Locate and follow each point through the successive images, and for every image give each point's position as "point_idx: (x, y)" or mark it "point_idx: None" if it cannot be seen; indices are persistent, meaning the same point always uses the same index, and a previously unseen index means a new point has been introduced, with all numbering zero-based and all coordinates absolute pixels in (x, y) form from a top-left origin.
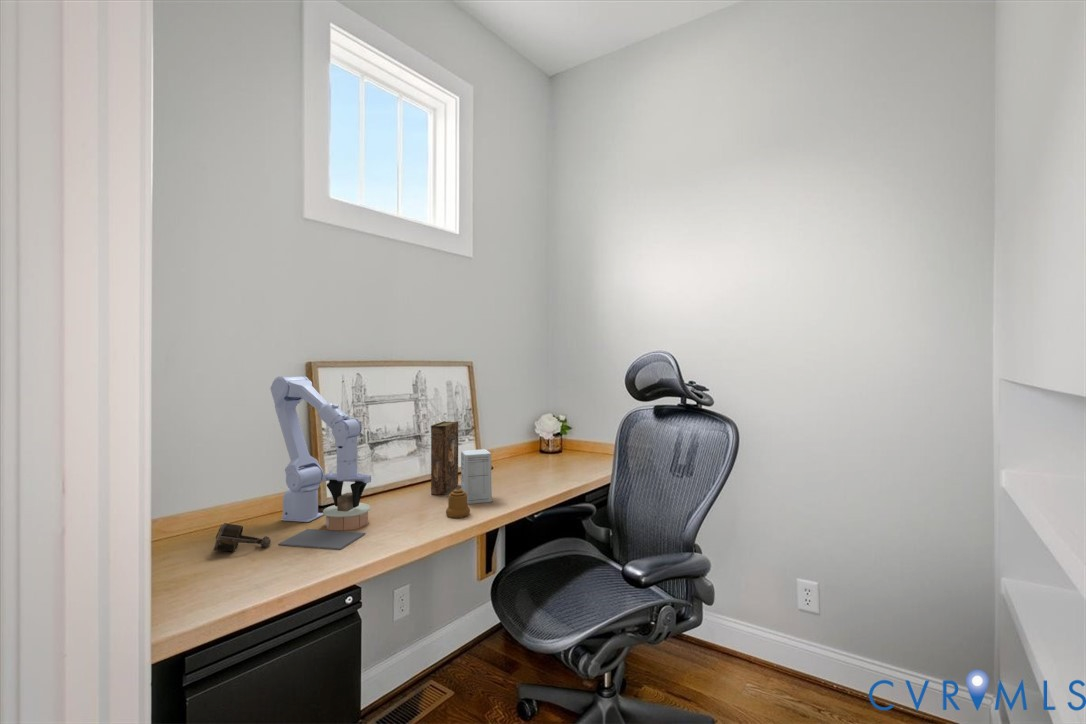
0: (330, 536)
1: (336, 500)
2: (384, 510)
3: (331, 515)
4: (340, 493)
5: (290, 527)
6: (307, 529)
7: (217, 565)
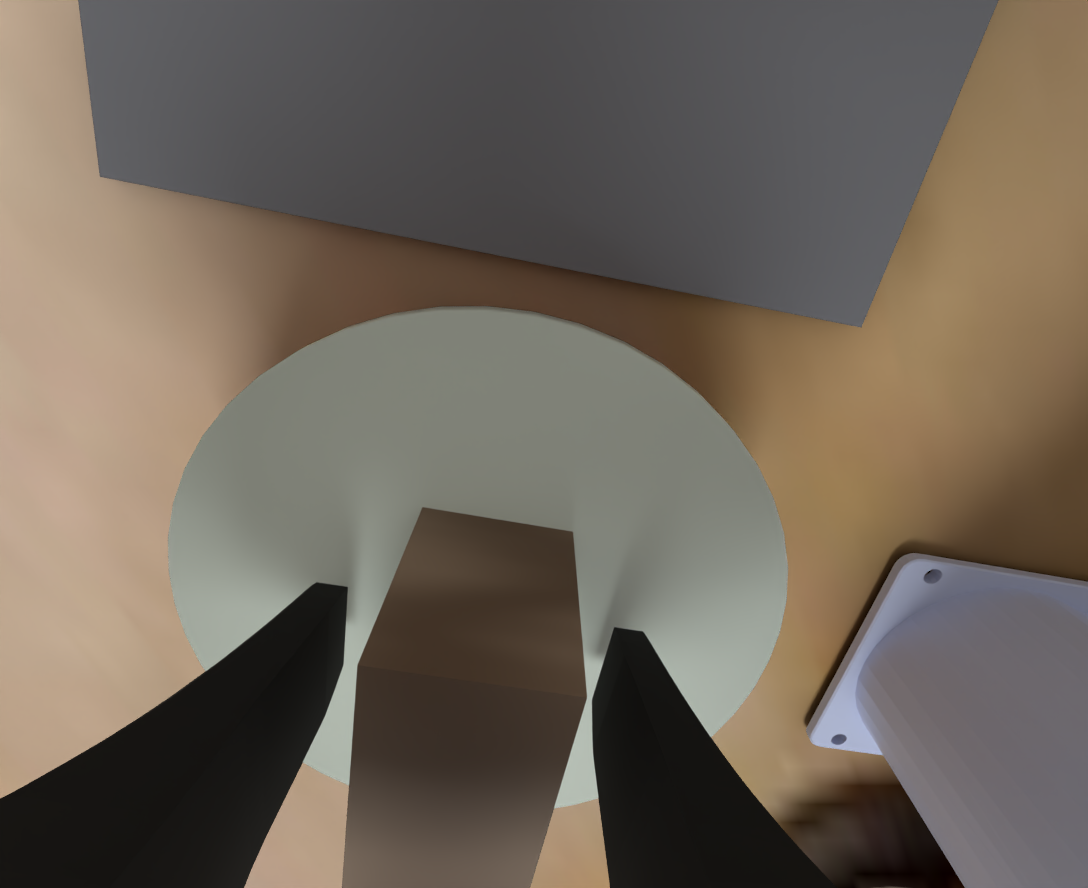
0: (474, 13)
1: (632, 695)
2: (342, 819)
3: (581, 328)
4: (618, 876)
5: (1056, 418)
6: (856, 307)
7: None
